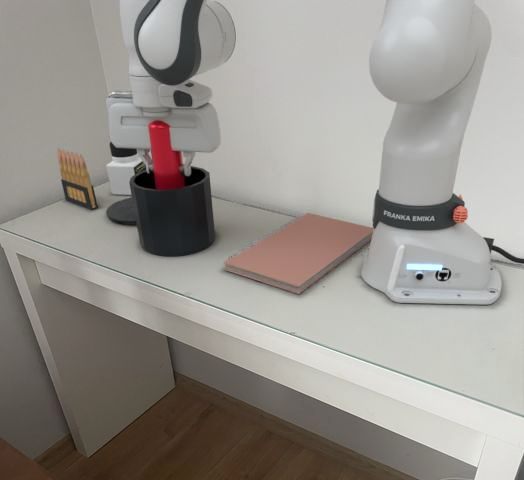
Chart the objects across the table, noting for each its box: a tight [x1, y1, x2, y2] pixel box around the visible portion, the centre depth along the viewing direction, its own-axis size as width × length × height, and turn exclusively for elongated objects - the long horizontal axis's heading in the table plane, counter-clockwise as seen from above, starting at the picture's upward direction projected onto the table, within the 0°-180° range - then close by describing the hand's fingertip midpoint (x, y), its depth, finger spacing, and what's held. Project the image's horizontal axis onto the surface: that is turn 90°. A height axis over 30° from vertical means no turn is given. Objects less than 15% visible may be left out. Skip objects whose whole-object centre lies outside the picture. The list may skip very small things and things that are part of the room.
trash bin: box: [129, 165, 216, 257], centre depth 101 cm, size 15×15×12 cm
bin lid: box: [105, 196, 137, 225], centre depth 116 cm, size 16×16×5 cm
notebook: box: [223, 212, 374, 295], centre depth 98 cm, size 27×17×2 cm, turn 143°
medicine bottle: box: [105, 141, 146, 196], centre depth 127 cm, size 7×7×12 cm
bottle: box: [148, 120, 185, 189], centre depth 96 cm, size 5×6×20 cm
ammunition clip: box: [56, 147, 99, 211], centre depth 120 cm, size 11×2×12 cm, turn 49°
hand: (169, 174), depth 97 cm, fingers closed on bottle, 5 cm apart
